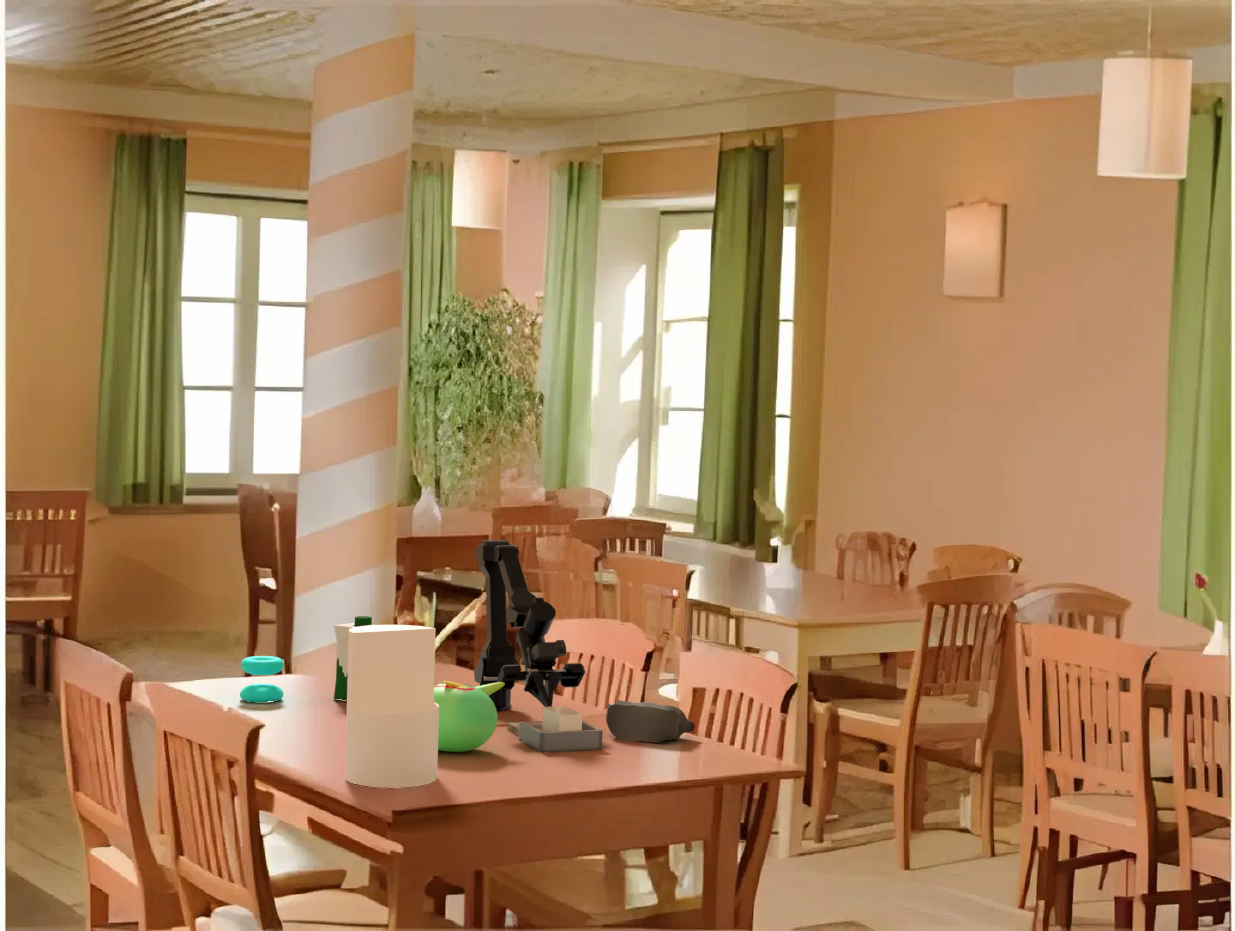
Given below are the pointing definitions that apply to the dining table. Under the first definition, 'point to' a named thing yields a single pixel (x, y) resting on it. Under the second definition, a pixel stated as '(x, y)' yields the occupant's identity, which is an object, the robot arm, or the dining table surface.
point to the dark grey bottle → (646, 721)
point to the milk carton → (345, 654)
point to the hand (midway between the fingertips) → (549, 708)
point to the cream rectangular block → (561, 719)
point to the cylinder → (391, 706)
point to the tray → (561, 738)
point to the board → (514, 726)
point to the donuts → (261, 667)
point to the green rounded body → (465, 715)
